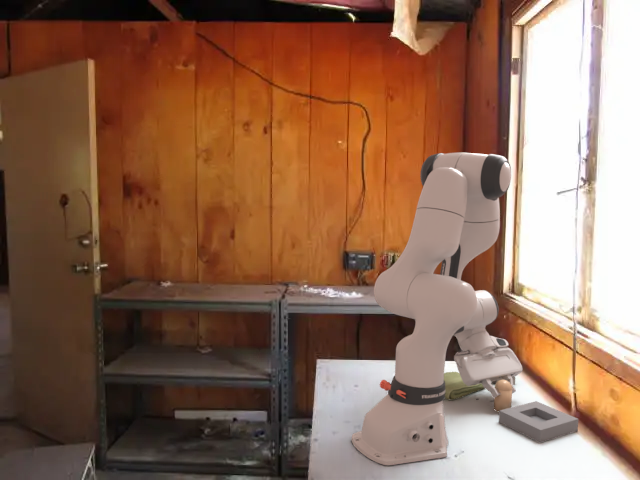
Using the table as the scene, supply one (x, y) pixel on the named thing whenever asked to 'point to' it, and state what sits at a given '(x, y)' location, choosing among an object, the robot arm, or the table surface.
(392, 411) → the robot arm
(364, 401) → the table surface
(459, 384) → the washcloth
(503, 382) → the peach dome-topped peg
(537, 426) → the grey square peg hole
